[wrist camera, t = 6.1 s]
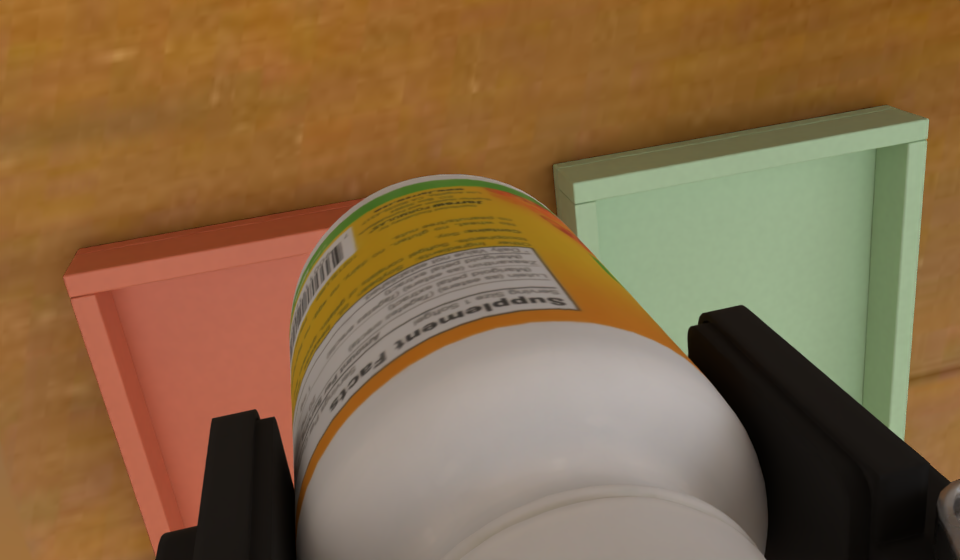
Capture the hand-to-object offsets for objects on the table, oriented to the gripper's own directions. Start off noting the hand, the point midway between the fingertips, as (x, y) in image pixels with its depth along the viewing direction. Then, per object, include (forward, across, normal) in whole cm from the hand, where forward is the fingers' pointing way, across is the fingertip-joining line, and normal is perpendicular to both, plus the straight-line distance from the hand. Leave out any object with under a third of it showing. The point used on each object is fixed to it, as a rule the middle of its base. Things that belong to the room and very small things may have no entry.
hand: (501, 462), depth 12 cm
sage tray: (+22, -13, +17) cm, 30 cm away
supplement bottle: (+5, 0, 0) cm, 5 cm away
